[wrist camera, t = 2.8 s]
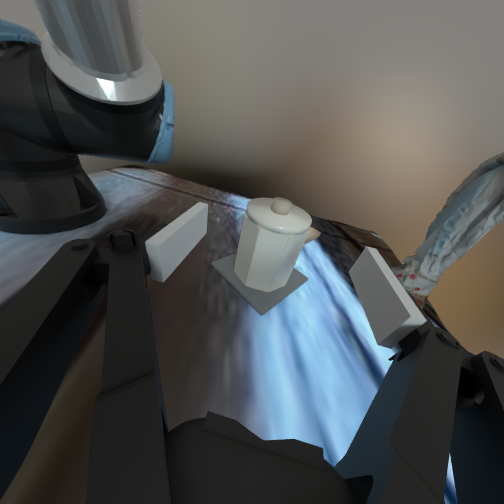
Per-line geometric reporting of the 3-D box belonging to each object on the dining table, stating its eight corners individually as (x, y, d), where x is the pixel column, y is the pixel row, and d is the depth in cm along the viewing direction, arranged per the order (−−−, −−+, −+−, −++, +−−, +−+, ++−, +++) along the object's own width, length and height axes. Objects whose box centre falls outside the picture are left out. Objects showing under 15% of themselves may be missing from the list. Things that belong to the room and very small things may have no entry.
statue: (370, 275, 37) (530, 77, 20) (408, 288, 36) (612, 91, 18) (379, 301, 31) (622, 50, 14) (425, 318, 30) (752, 70, 13)
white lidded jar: (228, 281, 27) (242, 203, 20) (242, 249, 34) (255, 184, 27) (285, 297, 27) (319, 224, 20) (287, 262, 34) (312, 199, 27)
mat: (210, 264, 30) (210, 262, 30) (259, 244, 38) (260, 243, 38) (261, 315, 24) (262, 314, 24) (307, 280, 32) (308, 278, 32)
